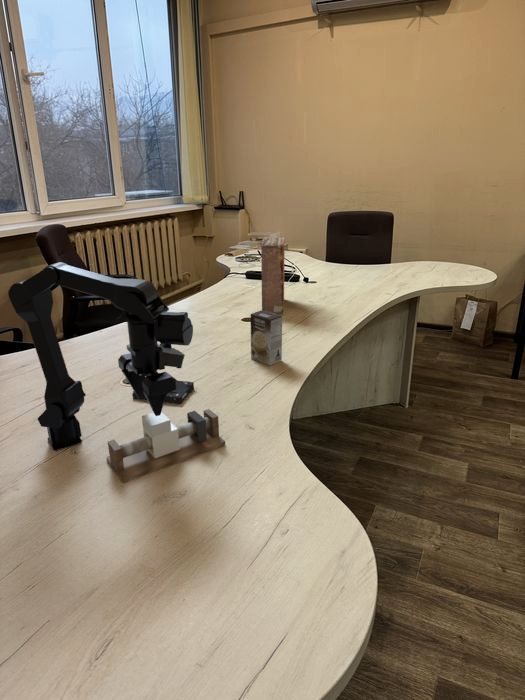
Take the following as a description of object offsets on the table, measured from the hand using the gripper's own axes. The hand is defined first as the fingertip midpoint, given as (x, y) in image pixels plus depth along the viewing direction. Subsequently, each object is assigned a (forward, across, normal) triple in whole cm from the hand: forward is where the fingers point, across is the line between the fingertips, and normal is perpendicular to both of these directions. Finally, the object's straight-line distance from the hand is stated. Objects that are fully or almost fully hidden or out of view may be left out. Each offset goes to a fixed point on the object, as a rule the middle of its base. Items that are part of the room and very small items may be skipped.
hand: (149, 407), depth 109 cm
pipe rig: (+12, -2, -2) cm, 12 cm away
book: (+12, +81, -93) cm, 124 cm away
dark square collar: (+10, -2, -10) cm, 15 cm away
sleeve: (+10, -2, -1) cm, 10 cm away
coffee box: (+12, +30, -53) cm, 62 cm away
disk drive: (+12, +27, -15) cm, 33 cm away
